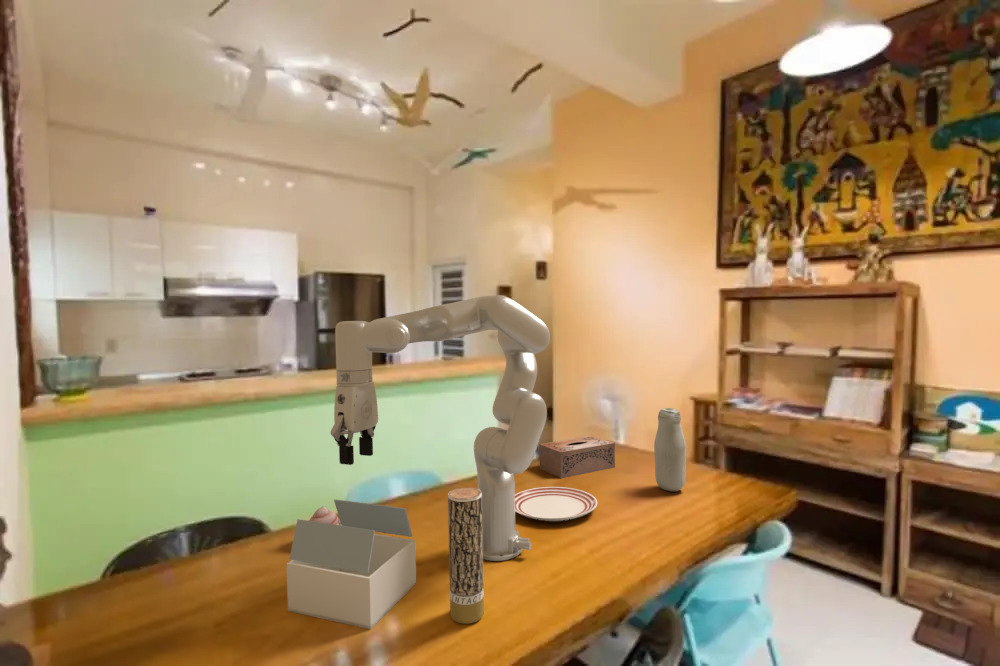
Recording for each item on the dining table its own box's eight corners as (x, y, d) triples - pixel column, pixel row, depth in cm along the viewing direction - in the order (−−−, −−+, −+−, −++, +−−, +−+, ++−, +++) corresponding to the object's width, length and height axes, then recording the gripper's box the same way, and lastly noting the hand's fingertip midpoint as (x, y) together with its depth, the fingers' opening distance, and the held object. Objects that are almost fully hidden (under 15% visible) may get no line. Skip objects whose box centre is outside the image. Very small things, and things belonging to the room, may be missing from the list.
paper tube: (450, 607, 107) (448, 488, 106) (483, 605, 107) (481, 486, 106) (450, 626, 100) (447, 500, 99) (484, 624, 100) (482, 498, 100)
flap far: (411, 537, 116) (412, 536, 116) (405, 509, 113) (405, 508, 113) (341, 526, 122) (342, 525, 122) (333, 500, 119) (334, 499, 120)
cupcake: (348, 536, 142) (347, 501, 141) (330, 552, 133) (329, 514, 132) (318, 534, 144) (317, 499, 143) (298, 549, 135) (297, 511, 134)
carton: (416, 583, 116) (415, 539, 116) (370, 629, 100) (369, 578, 99) (342, 569, 123) (341, 528, 123) (288, 611, 106) (286, 563, 106)
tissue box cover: (561, 479, 189) (560, 452, 189) (539, 469, 202) (539, 443, 202) (614, 468, 202) (614, 442, 201) (591, 459, 214) (591, 435, 214)
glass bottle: (688, 488, 177) (688, 407, 176) (681, 497, 168) (681, 412, 167) (659, 483, 182) (659, 404, 181) (651, 492, 173) (650, 409, 172)
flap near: (290, 559, 106) (289, 559, 106) (298, 519, 108) (297, 519, 108) (368, 573, 100) (367, 573, 100) (375, 530, 102) (374, 530, 102)
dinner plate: (494, 521, 152) (494, 510, 151) (525, 491, 177) (525, 481, 177) (586, 534, 141) (586, 522, 141) (605, 500, 167) (605, 490, 166)
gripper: (344, 383, 102) (346, 472, 103) (391, 373, 118) (392, 450, 119) (313, 382, 105) (315, 469, 105) (363, 372, 121) (365, 448, 122)
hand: (356, 458), depth 112 cm, fingers open, 6 cm apart
